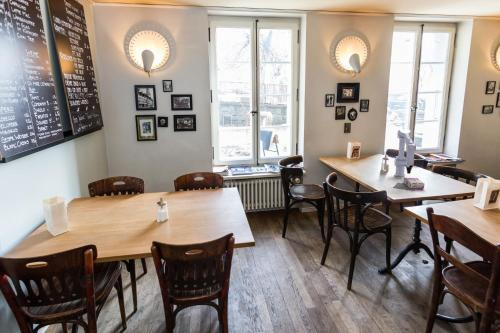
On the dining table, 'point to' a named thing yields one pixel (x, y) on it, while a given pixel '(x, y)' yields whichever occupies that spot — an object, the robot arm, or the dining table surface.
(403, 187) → the mat
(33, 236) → the dining table surface
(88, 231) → the dining table surface
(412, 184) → the candy bar box
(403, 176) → the robot arm
